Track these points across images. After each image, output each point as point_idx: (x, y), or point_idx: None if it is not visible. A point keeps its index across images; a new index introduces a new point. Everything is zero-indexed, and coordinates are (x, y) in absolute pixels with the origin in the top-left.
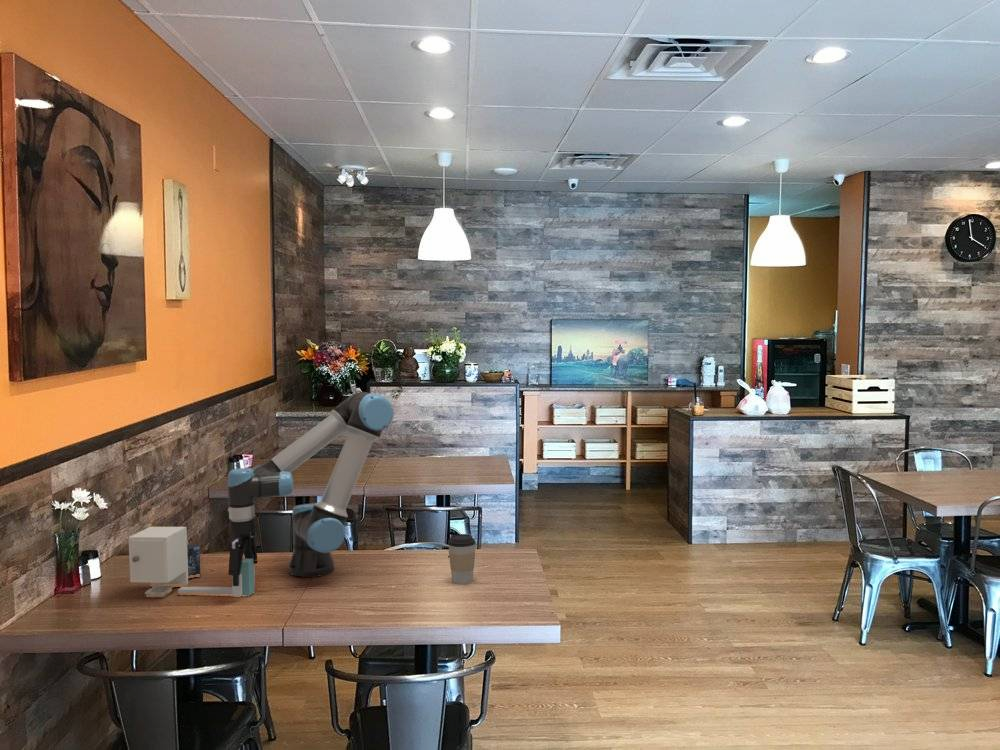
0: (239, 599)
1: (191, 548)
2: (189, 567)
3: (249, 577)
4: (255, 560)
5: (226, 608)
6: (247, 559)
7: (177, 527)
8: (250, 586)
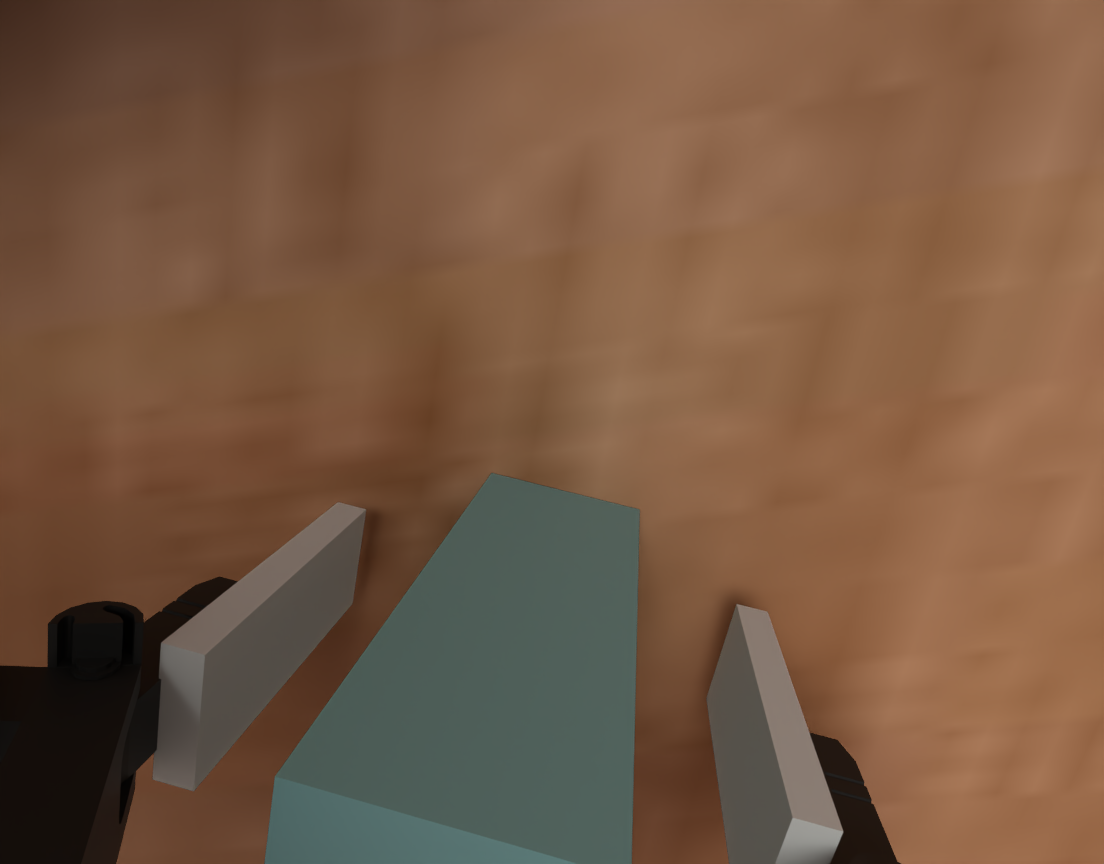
0: (686, 607)
1: None
2: None
3: (612, 626)
4: (51, 659)
5: (972, 706)
6: None
7: None
8: (594, 548)
